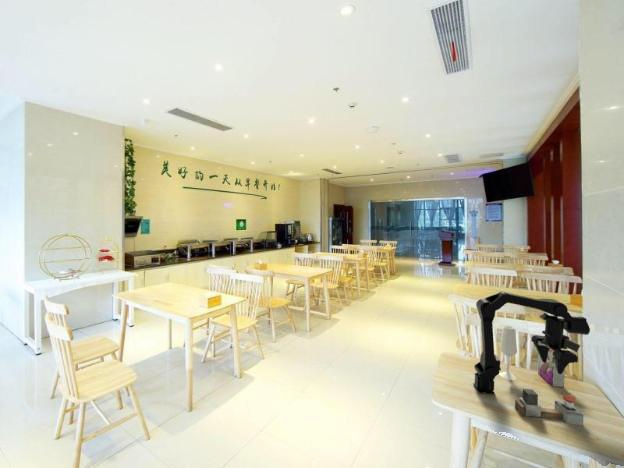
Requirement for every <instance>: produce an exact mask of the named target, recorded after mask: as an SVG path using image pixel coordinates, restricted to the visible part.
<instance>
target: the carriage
mask: <svg viewBox="0 0 624 468" xmlns="http://www.w3.org/2000/svg"><path fill="white" fill-rule="evenodd" d="M518 400H519V401H520V402H521V403H522V404H523V405H524V407H525V416H526V417H535V418H541V417H542V416H541V408H542V406H541V405H540V404H539V401H538V400H539V395H538V393H537V392H536V391H535V390H534V389H532V388H531V389H530V388H522V397H519V399H518Z"/></svg>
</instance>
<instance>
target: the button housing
mask: <svg viewBox="0 0 624 468" xmlns="http://www.w3.org/2000/svg"><path fill="white" fill-rule="evenodd" d="M554 409H558V410H560V411H561V412H562V413H563V419H562V420H563V421H564V422H565V423H566V424H569V425H579V426H584V416H585V415H584V414H583V412H581V411H580V410H579V409H578V408H576V407H575V406H573V411H572V410H566V409H565V408H564V401H560V400H554Z"/></svg>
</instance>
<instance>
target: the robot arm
mask: <svg viewBox="0 0 624 468" xmlns="http://www.w3.org/2000/svg"><path fill="white" fill-rule="evenodd" d="M506 304H514V305H517V306H522V307H526V308H531V309H536V310H540V311H542V312H544V313H543V314H541V315H539V318H541V319H542V320H544V321H545V323H544V326H545V327H544V330H542V331H541V332H542V334H543V335H536V334H534V335H532V336H531V341H530V342H533V345H534V346H535V350H536V351H537V353H538V356H539V355H540V357H541V359H542V361H543V363H546V361H547V356H548V351H549V350H550V349H552V350H553V351H554V356H555V357H553V358H554V362H555V365H556V369H557V372H558V374H562V373H563V371H564V372H565V370H564V369H566V367H567V366H568V365H569V364H572V363H573V364H574V363H579V357H578V355H577V354H576V353H577V352H578V351H579V349H580V347H581V345H580V344H578V343H577V342H575V341H574V340H571V339H570V336H568V335H565V334H564V331H566V332H567V333H569V334H575V335H584V336H587V335H589V334H590V331H591V328H590V325H589V323H588V320H587V318H586V317H584V316H573V315H571V314H570V312H569V311H568V310H569V309H568V307H567V305H566V304H564V303H563V302H561V301H558V300H556V299H554V298H533V297H529V296H524V295H520V294H519V295H518V294H514V293H510V292H506V291H499V292H498V293H497V292H496V293H495V294H492V295H489V296H487V297H485V298H480V299H479V300H477V301H476V304H475V305H476V306H475V307H476V310H477V314H478V315H479V319H480V328H481V342H482V345H481V346H482V351H481V354H480V358H479V361H478V362H477V363H476V364H475V365H473V367H474V369H475V371H476V372H474V383H472V385H473V387H474V388H475V390H476V392H478V393H479V394H480V393H481V394H491V395H495V377H496V376H498V375H499V373H500V371H502V368H501V360H500V359H499V357H498V356H497V354H495V345H494V343H495V342H494V328H493V325H494V323H493V322H494V319H495V318H496V317H495V316H496V311H499V310H500V309H501V308H502V307H503V306H505V305H506ZM568 349H569V350H568ZM570 350H571V351H570ZM572 351H573V352H572ZM574 352H575V353H574Z"/></svg>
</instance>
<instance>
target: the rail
mask: <svg viewBox="0 0 624 468" xmlns="http://www.w3.org/2000/svg"><path fill="white" fill-rule="evenodd" d="M514 409H515V410H516V412H518V414H519V415H520V416H521V417H525V416H526V415H525V407H524V405H523V404H522V403H521V402H520V401H519V399H515V400H514ZM541 417H542V418H550V419H562V420H563V413H562V412H561V411H560V410H558V409H555V408H546V407H541Z"/></svg>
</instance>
